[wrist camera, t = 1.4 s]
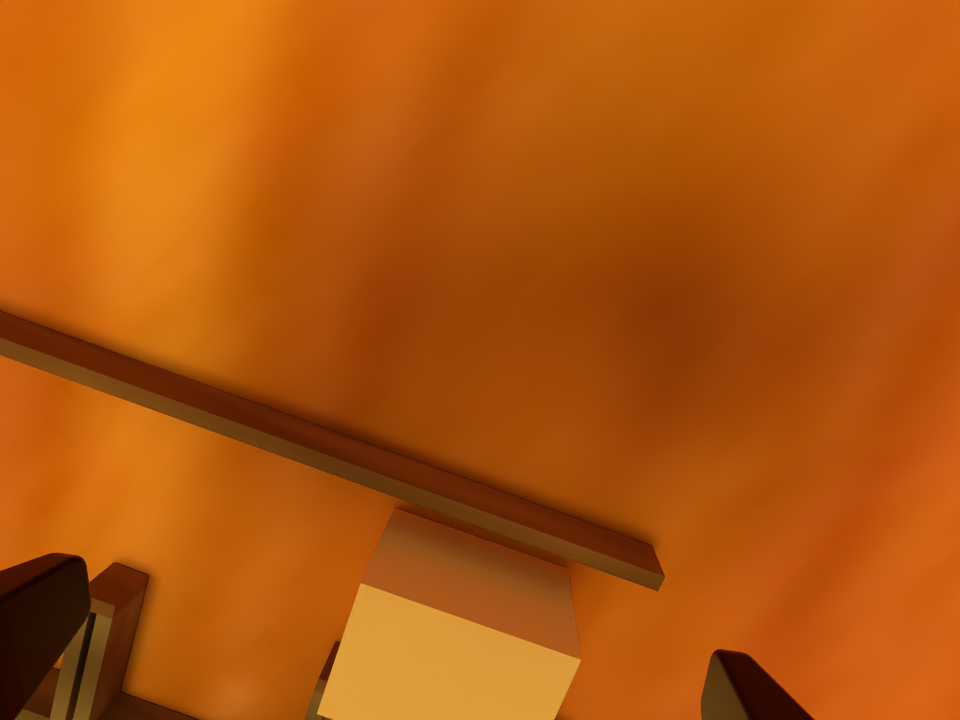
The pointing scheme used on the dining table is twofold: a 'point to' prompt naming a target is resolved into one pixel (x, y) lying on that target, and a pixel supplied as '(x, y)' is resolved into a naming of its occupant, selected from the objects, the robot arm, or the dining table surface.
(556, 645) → the cream block
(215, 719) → the dining table surface
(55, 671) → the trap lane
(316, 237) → the dining table surface
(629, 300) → the dining table surface
